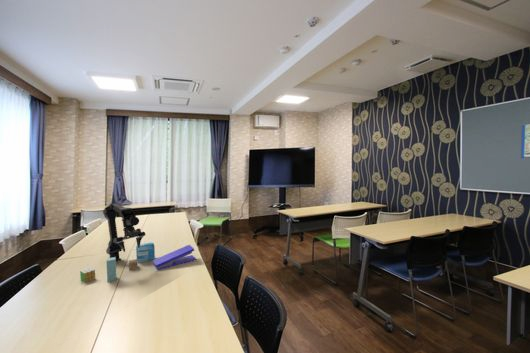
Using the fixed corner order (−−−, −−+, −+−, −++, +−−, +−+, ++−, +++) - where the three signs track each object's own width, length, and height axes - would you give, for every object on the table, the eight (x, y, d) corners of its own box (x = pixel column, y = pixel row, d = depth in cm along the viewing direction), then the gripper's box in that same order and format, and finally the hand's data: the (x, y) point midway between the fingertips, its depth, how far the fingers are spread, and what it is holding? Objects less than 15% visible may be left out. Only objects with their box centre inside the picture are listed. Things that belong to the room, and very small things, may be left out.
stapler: (196, 260, 179) (196, 247, 178) (156, 271, 162) (155, 256, 162) (191, 256, 188) (191, 243, 187) (152, 265, 171) (152, 251, 171)
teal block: (107, 278, 151) (107, 258, 150) (116, 277, 153) (115, 256, 153) (107, 281, 147) (106, 260, 146) (116, 279, 149) (115, 259, 149)
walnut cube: (129, 267, 167) (128, 260, 167) (137, 266, 170) (137, 259, 170) (129, 270, 163) (129, 263, 163) (137, 268, 166) (137, 261, 165)
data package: (136, 262, 175) (136, 246, 175) (136, 260, 179) (136, 244, 179) (154, 259, 181) (154, 243, 181) (154, 257, 185) (153, 242, 185)
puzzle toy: (84, 282, 147) (84, 273, 146) (80, 280, 150) (80, 271, 149) (95, 278, 152) (94, 269, 151) (91, 276, 155) (90, 267, 154)
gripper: (118, 228, 152) (122, 253, 151) (147, 222, 167) (151, 245, 166) (111, 230, 159) (114, 254, 157) (139, 224, 174) (143, 246, 173)
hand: (131, 249), depth 163 cm, fingers open, 9 cm apart
